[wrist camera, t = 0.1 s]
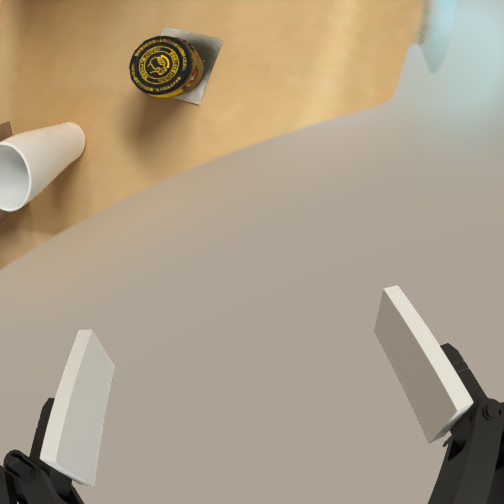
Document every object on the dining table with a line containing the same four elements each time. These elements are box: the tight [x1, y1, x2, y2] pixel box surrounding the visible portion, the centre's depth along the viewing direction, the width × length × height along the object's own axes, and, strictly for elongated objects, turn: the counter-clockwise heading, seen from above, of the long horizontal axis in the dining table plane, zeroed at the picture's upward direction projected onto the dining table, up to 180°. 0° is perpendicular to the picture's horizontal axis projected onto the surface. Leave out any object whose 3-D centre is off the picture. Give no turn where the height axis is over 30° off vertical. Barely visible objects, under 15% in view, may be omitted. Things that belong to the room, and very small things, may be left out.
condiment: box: [129, 27, 223, 105], centre depth 24 cm, size 7×8×12 cm
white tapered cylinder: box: [0, 122, 86, 211], centre depth 26 cm, size 7×7×15 cm
